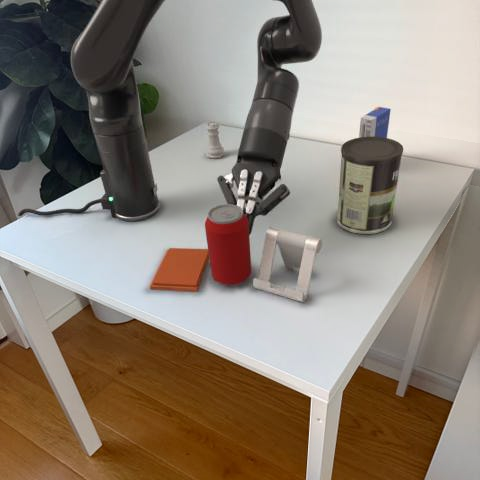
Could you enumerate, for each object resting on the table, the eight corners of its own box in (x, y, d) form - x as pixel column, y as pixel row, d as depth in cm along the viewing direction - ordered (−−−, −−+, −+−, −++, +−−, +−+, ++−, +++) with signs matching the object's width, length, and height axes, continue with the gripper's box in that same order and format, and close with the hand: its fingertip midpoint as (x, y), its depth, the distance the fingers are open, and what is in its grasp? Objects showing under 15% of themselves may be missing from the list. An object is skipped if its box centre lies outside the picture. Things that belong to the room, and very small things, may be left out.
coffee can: (391, 207, 94) (402, 135, 85) (392, 236, 86) (405, 160, 77) (337, 206, 96) (342, 135, 87) (334, 233, 89) (339, 159, 79)
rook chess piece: (228, 153, 119) (225, 120, 114) (218, 160, 117) (214, 127, 111) (213, 150, 121) (209, 118, 116) (203, 157, 119) (199, 124, 113)
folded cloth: (150, 289, 80) (149, 283, 79) (168, 252, 88) (167, 246, 87) (197, 291, 78) (196, 285, 77) (211, 253, 86) (210, 248, 85)
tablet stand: (253, 290, 77) (250, 246, 72) (276, 264, 82) (275, 221, 77) (302, 305, 74) (303, 259, 68) (322, 277, 79) (325, 233, 73)
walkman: (373, 158, 111) (379, 104, 103) (383, 161, 110) (391, 107, 102) (354, 171, 107) (359, 116, 99) (365, 174, 106) (371, 118, 98)
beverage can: (234, 260, 84) (228, 197, 76) (260, 276, 80) (256, 211, 72) (203, 276, 81) (194, 213, 73) (229, 294, 77) (222, 229, 69)
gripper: (221, 122, 79) (195, 224, 79) (298, 128, 74) (271, 238, 74) (237, 141, 86) (213, 236, 86) (308, 149, 81) (283, 249, 81)
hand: (240, 236), depth 80 cm, fingers closed
